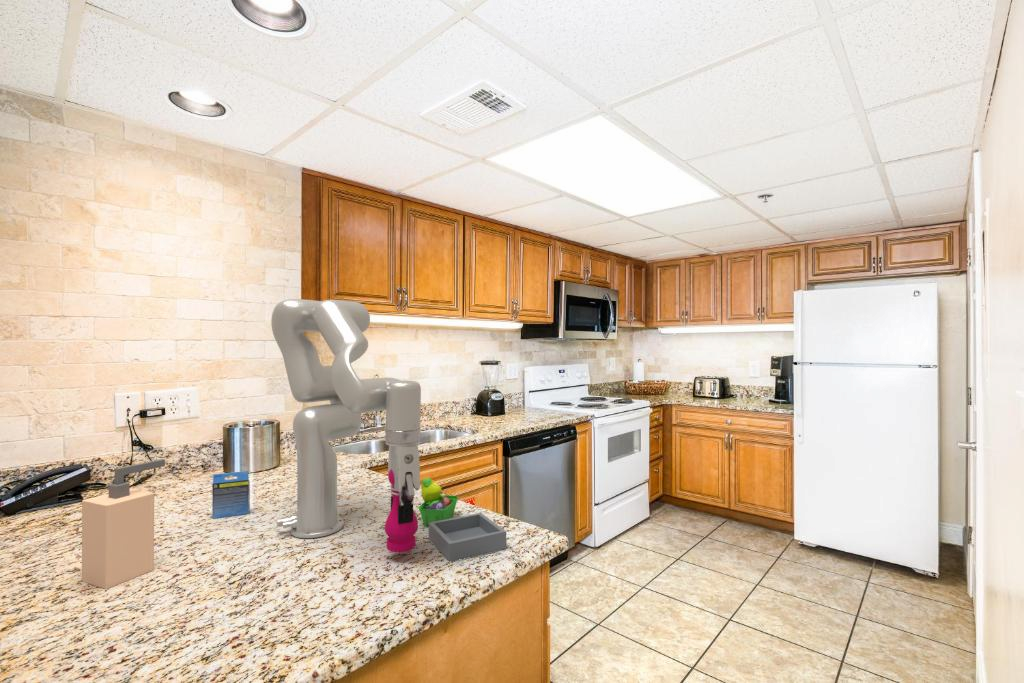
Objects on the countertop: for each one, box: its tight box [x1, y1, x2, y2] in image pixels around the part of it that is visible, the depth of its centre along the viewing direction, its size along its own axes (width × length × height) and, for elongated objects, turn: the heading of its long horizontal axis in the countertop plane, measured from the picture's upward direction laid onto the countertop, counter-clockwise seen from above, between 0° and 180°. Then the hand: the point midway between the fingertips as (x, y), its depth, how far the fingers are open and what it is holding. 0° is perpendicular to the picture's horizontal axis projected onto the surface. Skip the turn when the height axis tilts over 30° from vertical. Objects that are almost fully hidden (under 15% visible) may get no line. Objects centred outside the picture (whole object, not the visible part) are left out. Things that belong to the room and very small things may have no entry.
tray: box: [428, 512, 507, 563], centre depth 110 cm, size 14×14×4 cm
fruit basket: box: [418, 477, 459, 527], centre depth 126 cm, size 11×9×11 cm
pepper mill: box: [384, 469, 419, 554], centre depth 104 cm, size 7×7×20 cm
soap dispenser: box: [81, 458, 166, 590], centre depth 98 cm, size 13×9×22 cm
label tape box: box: [211, 470, 251, 520], centre depth 131 cm, size 9×4×12 cm, turn 115°
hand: (401, 516), depth 104 cm, fingers closed on pepper mill, 5 cm apart
